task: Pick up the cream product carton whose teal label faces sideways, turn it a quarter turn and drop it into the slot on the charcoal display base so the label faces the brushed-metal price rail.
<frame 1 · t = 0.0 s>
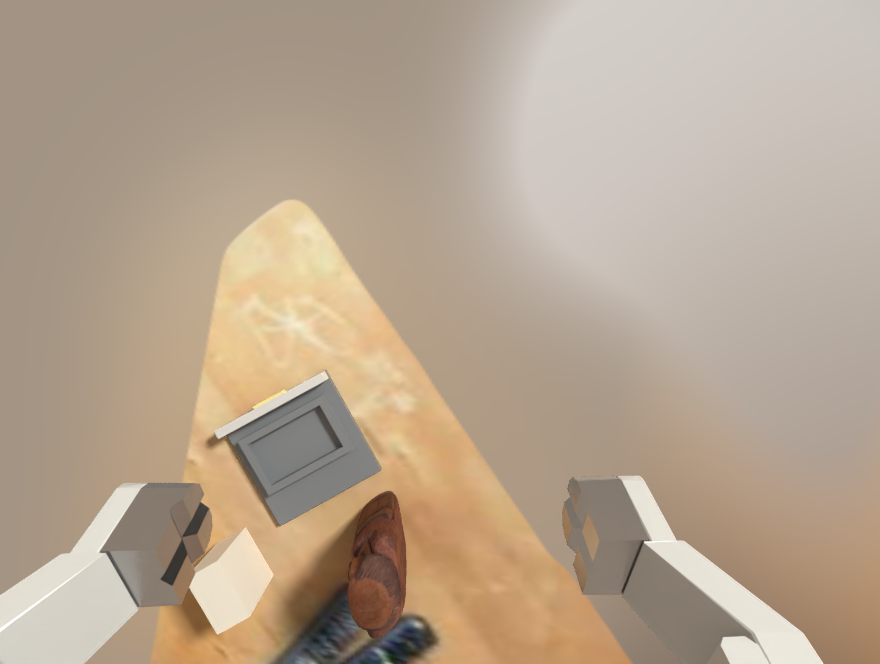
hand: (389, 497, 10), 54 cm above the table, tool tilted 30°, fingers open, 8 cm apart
wooden figurine: (384, 528, 65), on the table
display base: (303, 446, 64), on the table
product carton: (245, 558, 65), on the table
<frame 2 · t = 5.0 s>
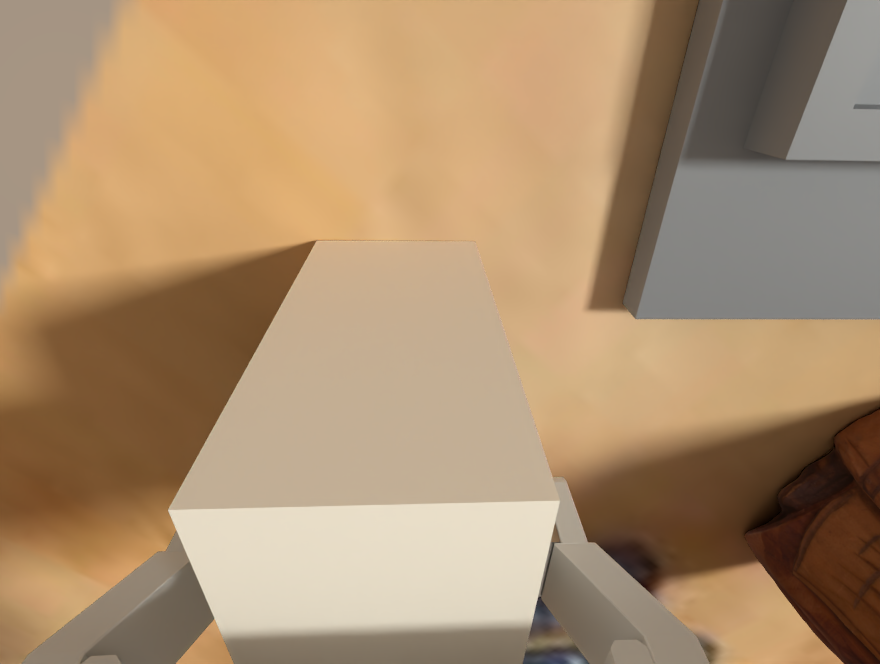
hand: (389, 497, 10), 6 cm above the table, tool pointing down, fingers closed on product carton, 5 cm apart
wooden figurine: (858, 472, 19), on the table
product carton: (400, 357, 15), on the table, touching gripper
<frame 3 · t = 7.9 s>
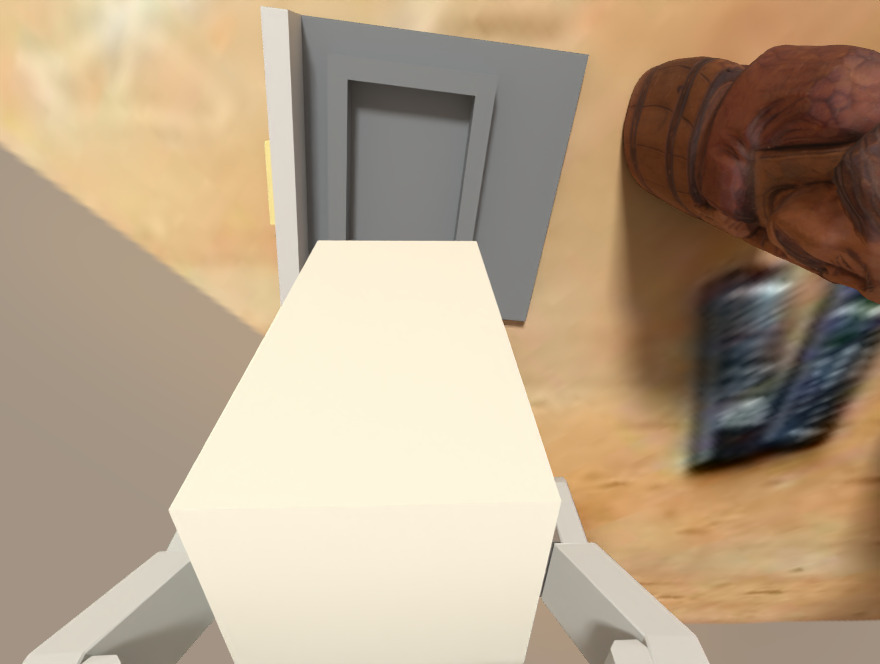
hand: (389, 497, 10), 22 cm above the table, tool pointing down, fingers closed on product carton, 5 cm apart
wooden figurine: (692, 149, 28), on the table
display base: (422, 188, 28), on the table
product carton: (401, 357, 15), point 16 cm above the table, touching gripper
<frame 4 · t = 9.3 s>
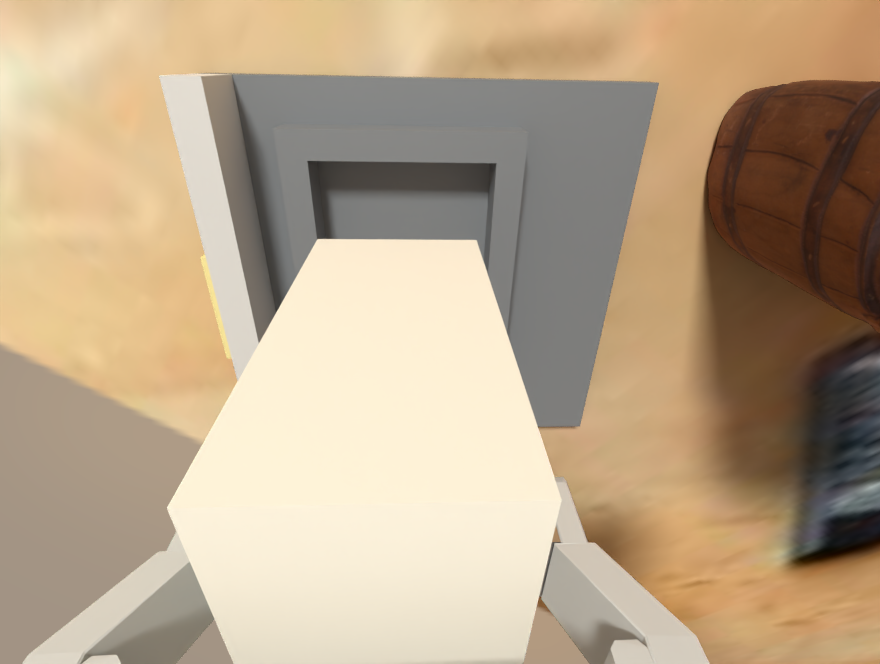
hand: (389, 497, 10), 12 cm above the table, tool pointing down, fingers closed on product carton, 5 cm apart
wooden figurine: (805, 192, 19), on the table
display base: (429, 279, 21), on the table
product carton: (400, 356, 15), point 6 cm above the table, touching gripper
when the fingers open (9 cm above the table, at t = 10.3 s): product carton drops 2 cm, resting on display base.
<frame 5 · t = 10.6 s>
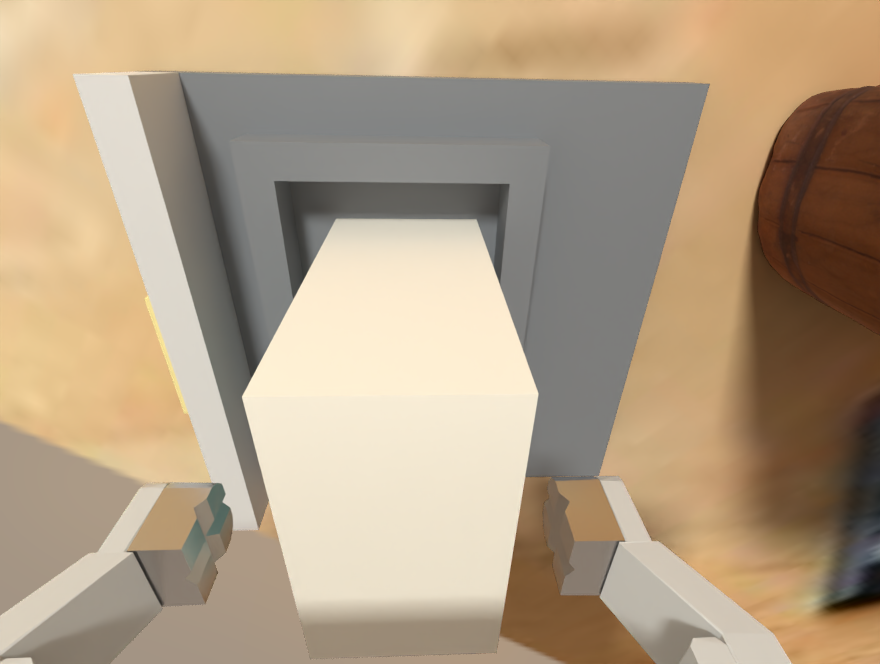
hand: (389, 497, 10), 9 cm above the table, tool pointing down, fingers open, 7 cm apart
wooden figurine: (871, 213, 16), on the table
display base: (427, 314, 18), on the table
product carton: (408, 326, 17), point 1 cm above the table, touching display base
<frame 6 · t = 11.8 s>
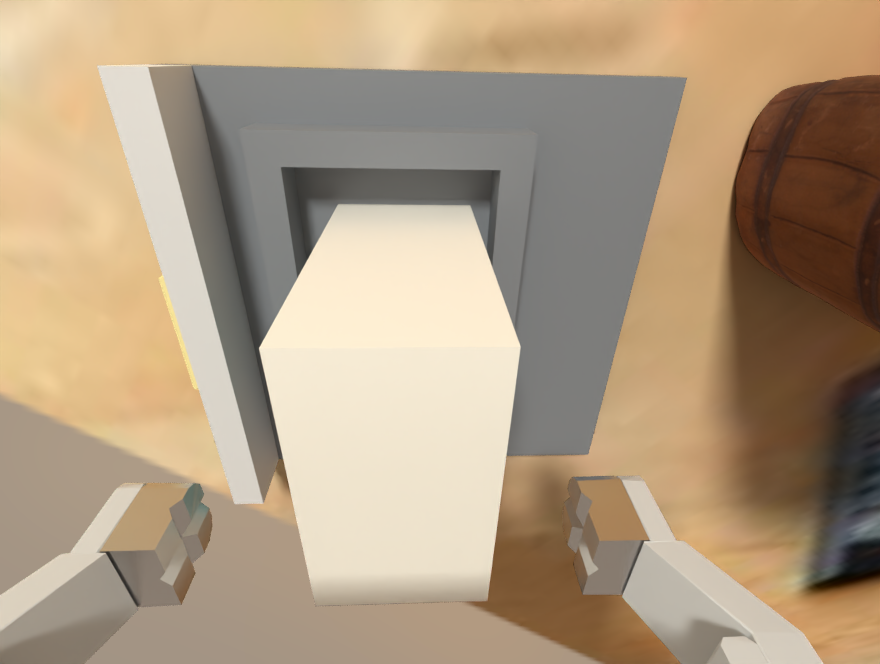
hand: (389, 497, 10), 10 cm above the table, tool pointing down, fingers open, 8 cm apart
wooden figurine: (842, 201, 17), on the table
display base: (423, 297, 19), on the table
product carton: (406, 308, 18), point 1 cm above the table, touching display base
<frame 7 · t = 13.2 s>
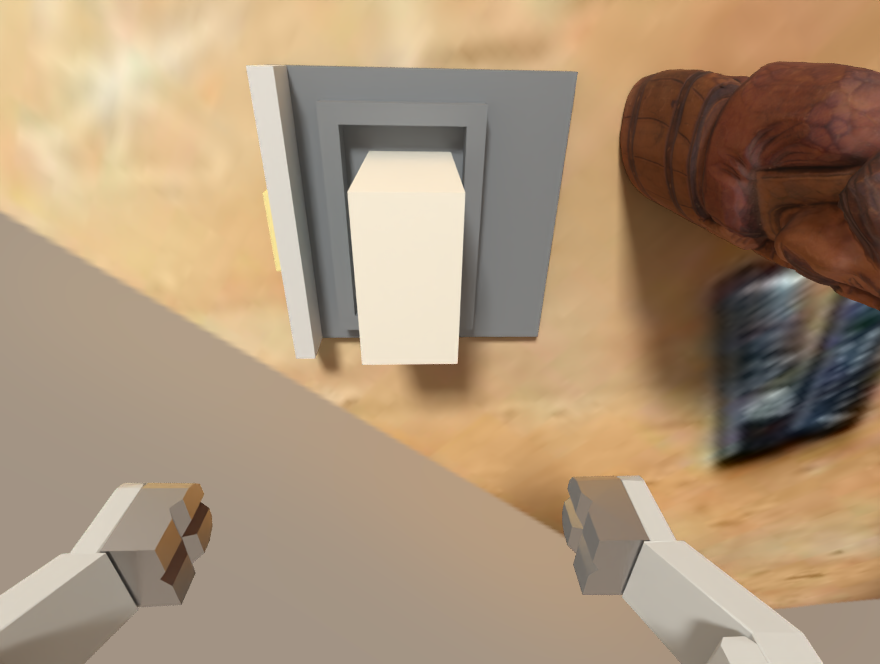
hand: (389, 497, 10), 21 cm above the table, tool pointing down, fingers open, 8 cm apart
wooden figurine: (692, 152, 27), on the table
display base: (422, 218, 28), on the table
product carton: (411, 222, 27), point 1 cm above the table, touching display base
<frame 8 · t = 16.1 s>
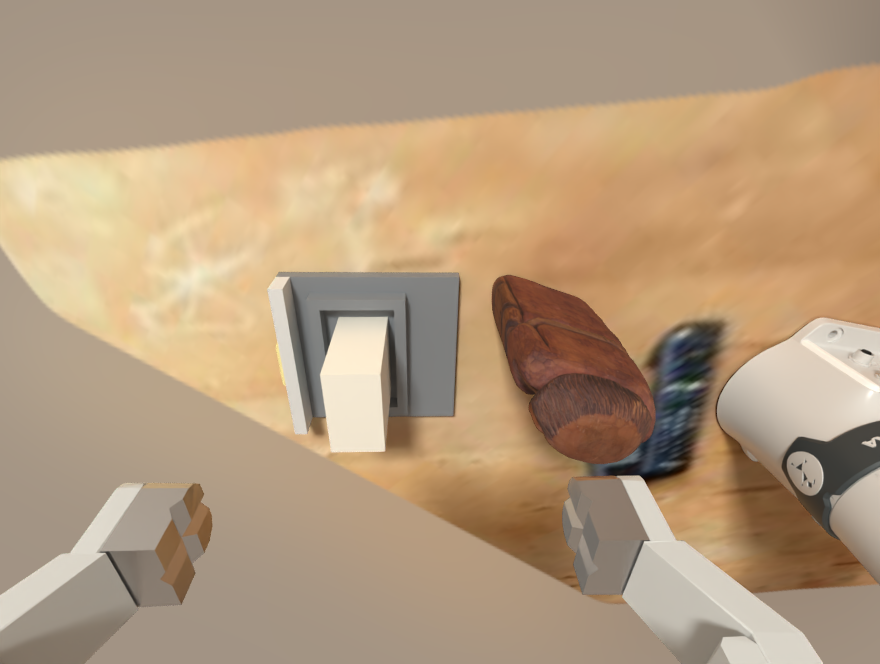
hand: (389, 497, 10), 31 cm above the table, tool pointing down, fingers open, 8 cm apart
wooden figurine: (539, 310, 44), on the table
display base: (374, 347, 45), on the table
product carton: (366, 353, 44), point 1 cm above the table, touching display base
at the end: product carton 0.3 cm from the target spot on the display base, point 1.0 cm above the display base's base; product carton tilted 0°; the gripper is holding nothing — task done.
